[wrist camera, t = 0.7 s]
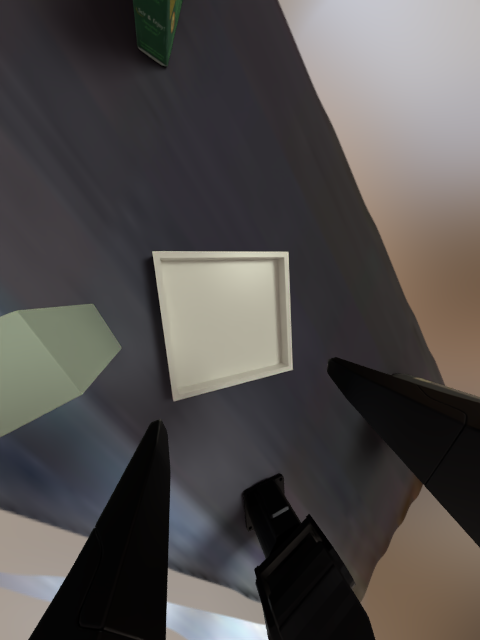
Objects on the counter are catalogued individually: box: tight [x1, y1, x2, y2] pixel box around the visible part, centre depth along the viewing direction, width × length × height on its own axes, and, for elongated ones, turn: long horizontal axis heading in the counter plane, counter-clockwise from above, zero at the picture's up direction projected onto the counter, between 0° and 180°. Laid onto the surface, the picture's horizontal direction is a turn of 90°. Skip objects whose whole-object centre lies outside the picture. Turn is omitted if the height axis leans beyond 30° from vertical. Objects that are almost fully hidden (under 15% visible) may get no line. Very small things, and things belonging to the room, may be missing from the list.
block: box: [0, 304, 122, 437], centre depth 13 cm, size 5×5×10 cm
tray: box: [152, 251, 293, 401], centre depth 22 cm, size 15×15×2 cm
